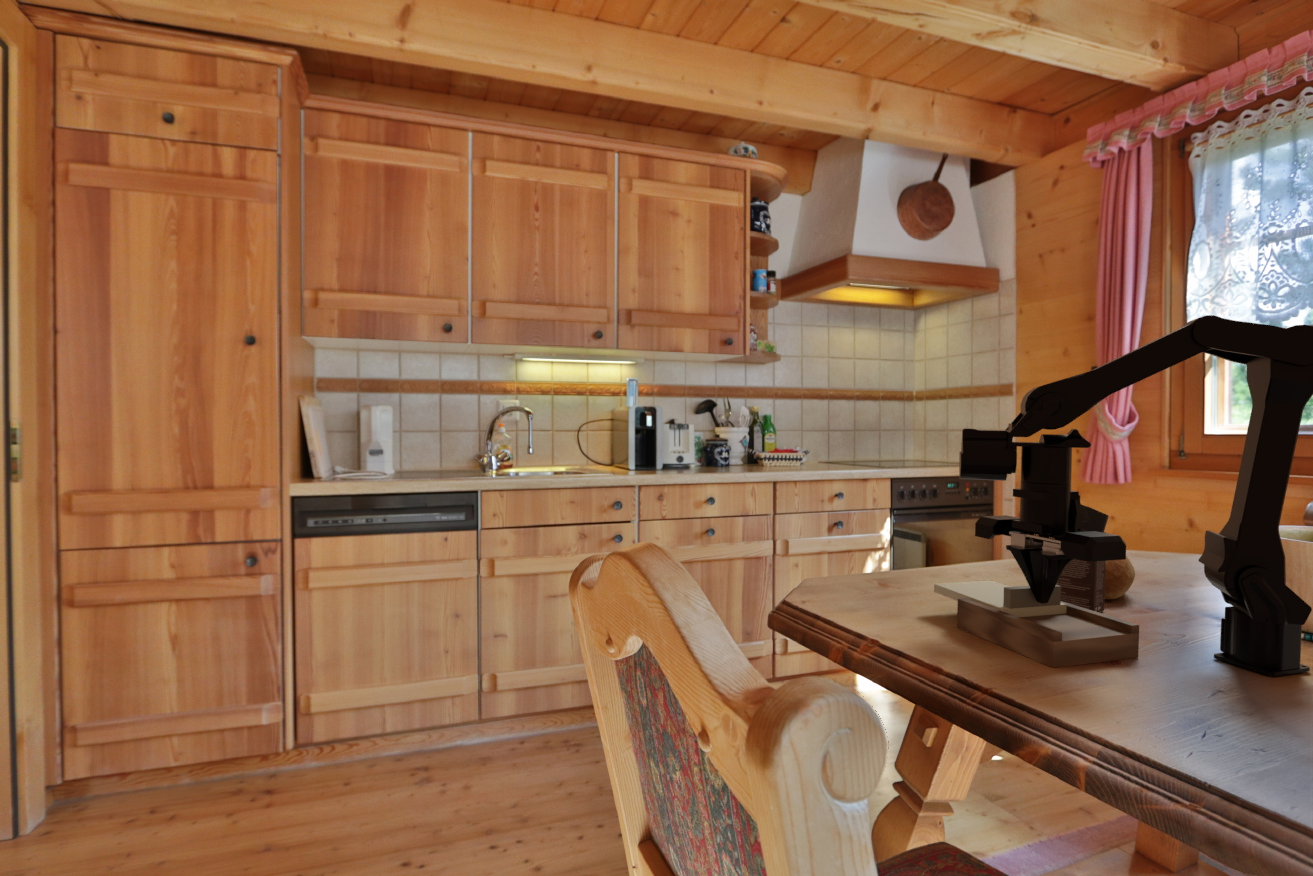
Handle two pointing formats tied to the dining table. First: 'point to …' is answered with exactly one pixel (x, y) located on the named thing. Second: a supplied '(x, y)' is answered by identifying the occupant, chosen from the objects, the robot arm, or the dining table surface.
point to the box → (1083, 584)
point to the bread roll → (1118, 577)
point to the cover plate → (1004, 597)
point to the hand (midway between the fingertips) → (1042, 602)
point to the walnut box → (1053, 634)
